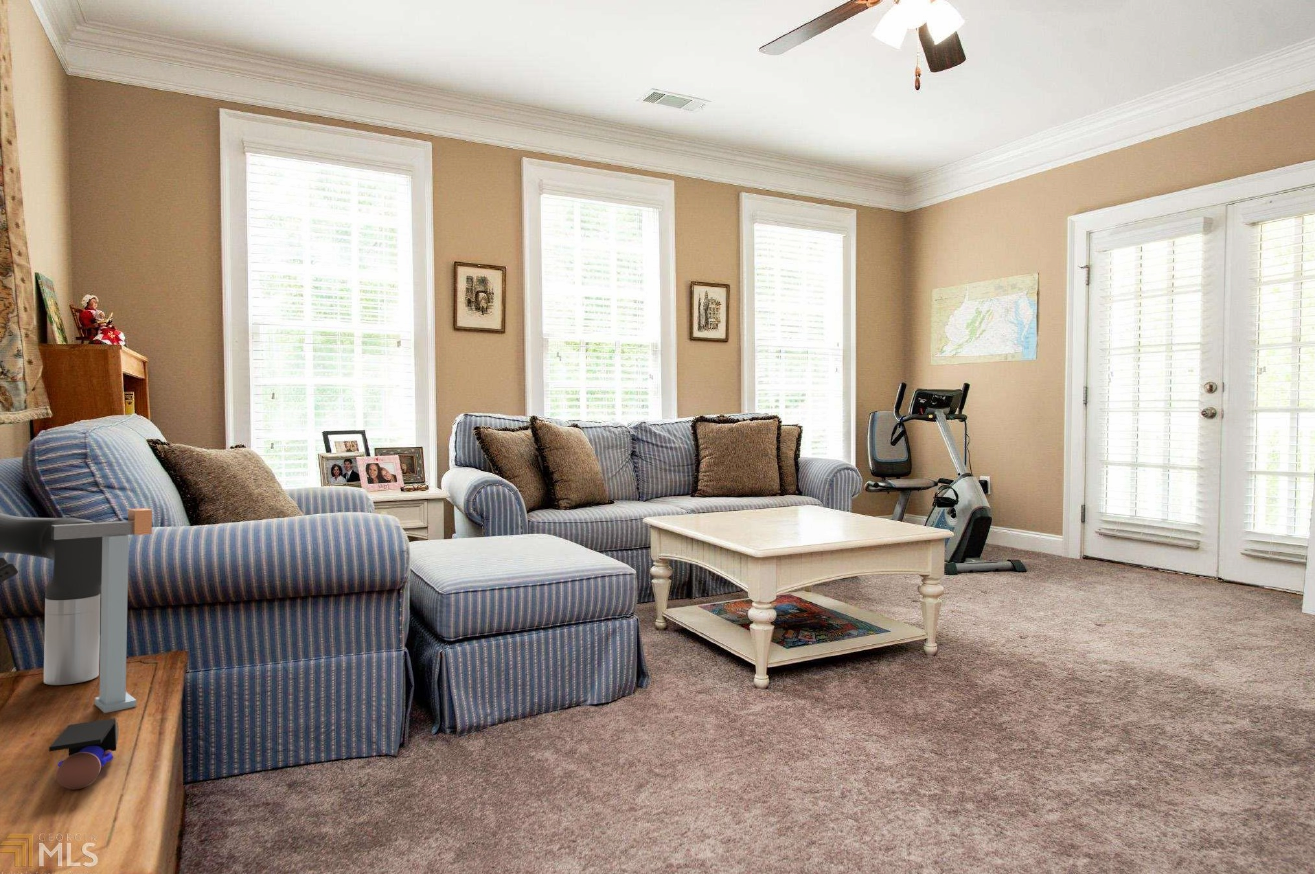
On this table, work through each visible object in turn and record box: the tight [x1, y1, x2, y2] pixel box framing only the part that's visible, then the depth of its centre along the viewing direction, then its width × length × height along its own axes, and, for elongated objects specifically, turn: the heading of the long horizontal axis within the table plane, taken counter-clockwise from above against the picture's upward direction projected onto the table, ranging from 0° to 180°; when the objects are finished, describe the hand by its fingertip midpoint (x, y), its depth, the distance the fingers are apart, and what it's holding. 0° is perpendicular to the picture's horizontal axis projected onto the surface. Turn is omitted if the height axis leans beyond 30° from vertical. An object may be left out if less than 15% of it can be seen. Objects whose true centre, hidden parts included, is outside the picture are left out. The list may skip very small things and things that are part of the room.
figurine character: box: [48, 717, 120, 790], centre depth 118 cm, size 7×8×15 cm
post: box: [94, 535, 137, 714], centre depth 148 cm, size 7×5×32 cm
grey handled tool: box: [51, 507, 153, 540], centre depth 146 cm, size 5×15×5 cm, turn 137°
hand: (10, 564), depth 136 cm, fingers open, 8 cm apart
